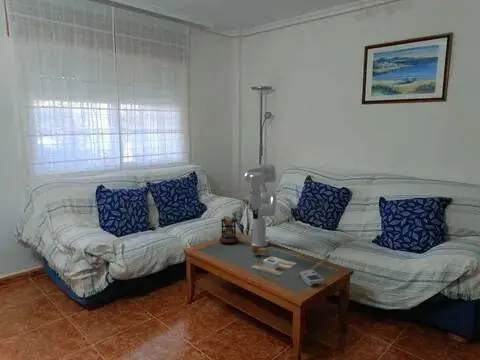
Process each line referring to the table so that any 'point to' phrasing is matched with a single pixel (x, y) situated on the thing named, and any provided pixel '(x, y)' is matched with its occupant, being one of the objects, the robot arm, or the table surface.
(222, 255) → the table surface
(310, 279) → the handheld gaming device
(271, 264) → the block
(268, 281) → the table surface
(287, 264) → the plywood board
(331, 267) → the table surface
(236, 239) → the brown upright piece
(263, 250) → the lion figurine
